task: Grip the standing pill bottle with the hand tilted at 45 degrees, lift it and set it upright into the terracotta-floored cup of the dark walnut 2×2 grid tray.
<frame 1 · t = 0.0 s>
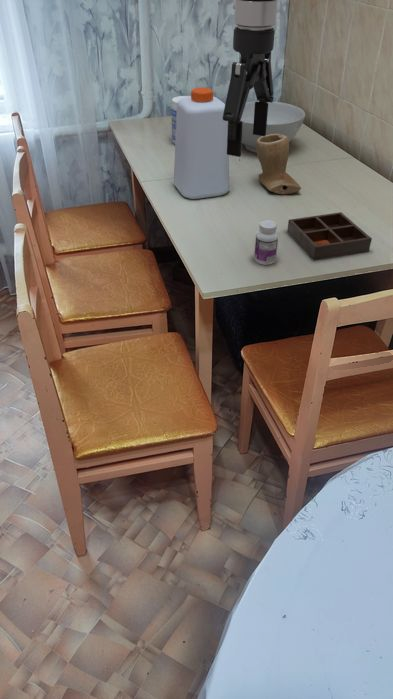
hand: (247, 144, 112), 29 cm above the table, tool pointing down, fingers open, 13 cm apart
decorative bowl: (262, 148, 193), on the table
grid: (326, 241, 140), on the table
pill bottle: (264, 260, 133), on the table
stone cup: (274, 187, 167), on the table
plastic bottle: (201, 189, 165), on the table
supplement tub: (185, 142, 197), on the table
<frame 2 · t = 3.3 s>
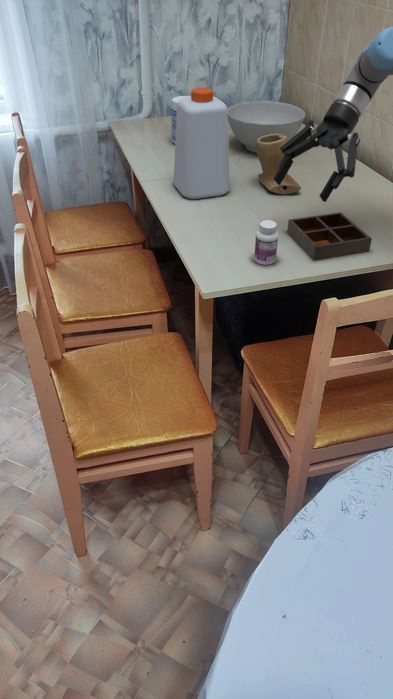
hand: (298, 190, 129), 15 cm above the table, tool tilted 45°, fingers open, 13 cm apart
nothing on the table moved.
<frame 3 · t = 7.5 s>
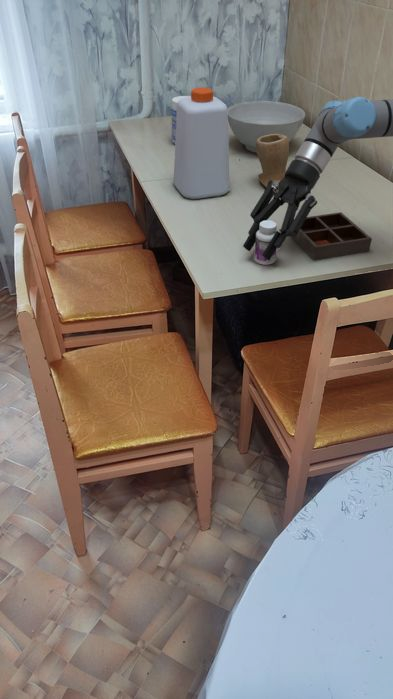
hand: (256, 253, 128), 3 cm above the table, tool tilted 45°, fingers closed on pill bottle, 5 cm apart
pill bottle: (264, 260, 133), on the table, touching gripper
everything else where it was.
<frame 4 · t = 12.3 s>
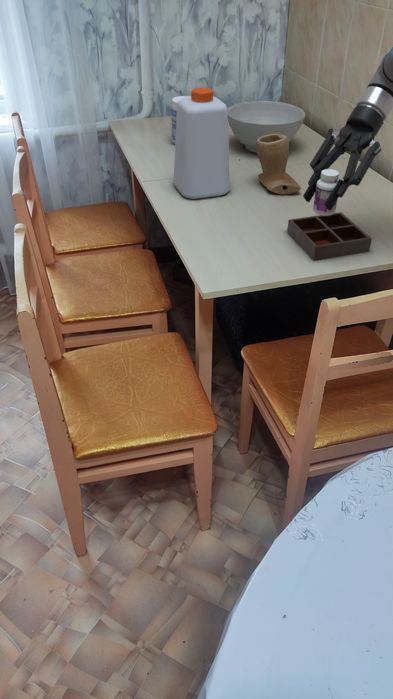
hand: (316, 203, 125), 14 cm above the table, tool tilted 45°, fingers closed on pill bottle, 5 cm apart
pill bottle: (323, 212, 130), point 10 cm above the table, touching gripper
everything else where it was.
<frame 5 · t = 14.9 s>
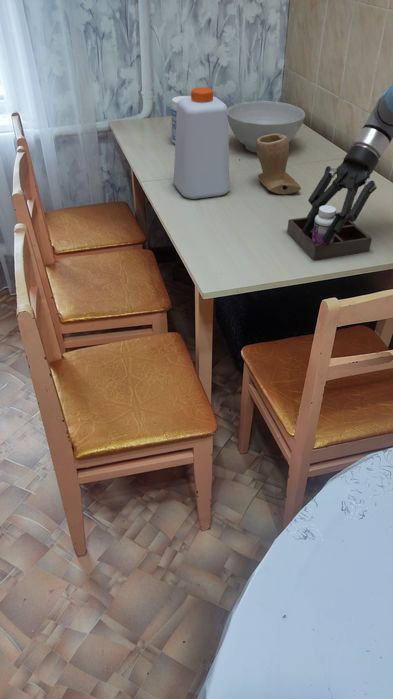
hand: (314, 237, 131), 5 cm above the table, tool tilted 45°, fingers closed on pill bottle, 5 cm apart
pill bottle: (321, 245, 136), point 1 cm above the table, touching gripper
everything else where it was.
when the fingers open (5 cm above the table, at t = 17.0 s): pill bottle stays where it is, resting on grid.
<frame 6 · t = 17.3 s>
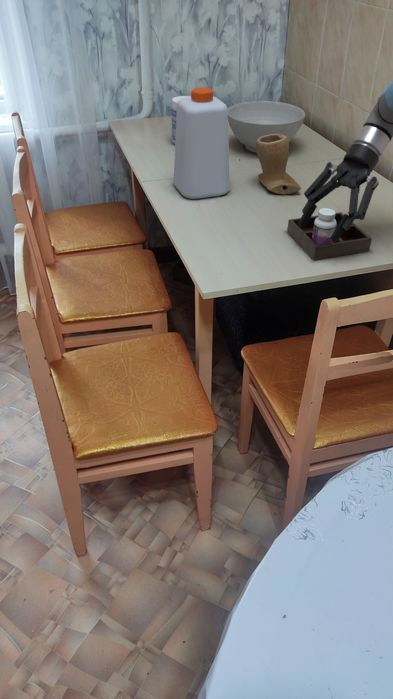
hand: (316, 233, 131), 6 cm above the table, tool tilted 45°, fingers open, 9 cm apart
pill bottle: (321, 248, 136), point 1 cm above the table, touching grid
everything else where it was.
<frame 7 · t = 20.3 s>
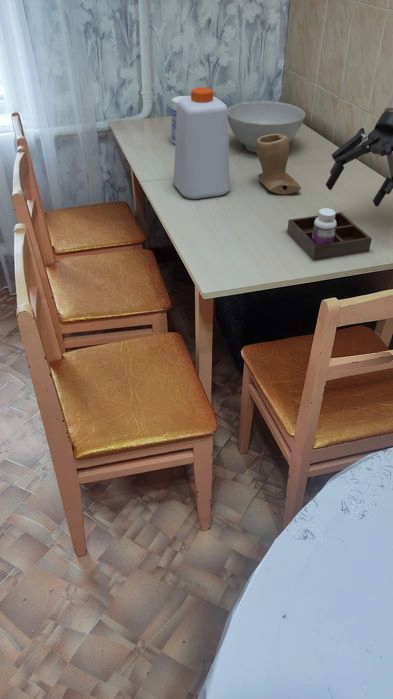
hand: (351, 195, 134), 12 cm above the table, tool tilted 45°, fingers open, 13 cm apart
nothing on the table moved.
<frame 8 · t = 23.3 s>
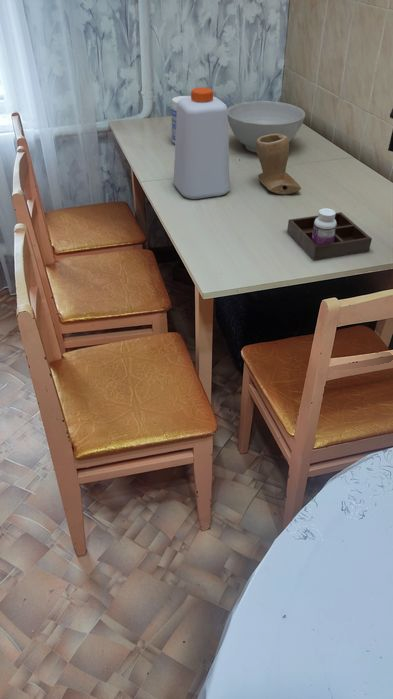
nothing on the table moved.
at the end: pill bottle 0.1 cm from the target spot in the grid, point 0.6 cm above the grid's base; pill bottle tilted 0° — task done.
